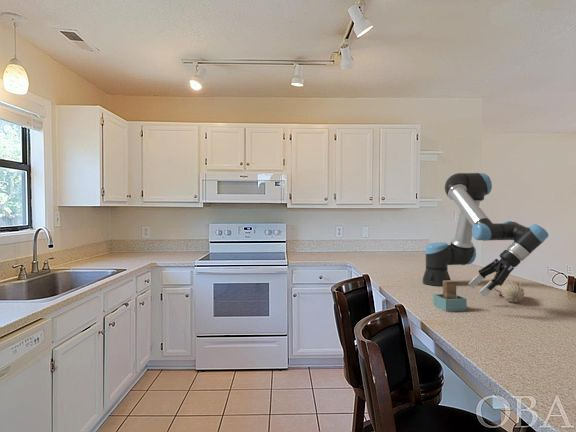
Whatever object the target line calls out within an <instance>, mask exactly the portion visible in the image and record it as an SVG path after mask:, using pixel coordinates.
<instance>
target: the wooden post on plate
mask: <svg viewBox="0 0 576 432" xmlns="http://www.w3.org/2000/svg"><path fill="white" fill-rule="evenodd" d="M442 294H443V298H444V299H456V295H457V281H456V280H451V279H450V280H447V281H443V286H442Z"/></svg>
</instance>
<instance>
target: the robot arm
mask: <svg viewBox="0 0 576 432" xmlns="http://www.w3.org/2000/svg"><path fill="white" fill-rule="evenodd" d="M492 187H493V184H492V180H491V178H490V176H489V175H488V174H487V173H482V172H458V173H454V174H452V175H450V176H449V177H448V178H447V180H446V181H445V183H444V192H445V194H446V196H447V197H448V198H449V199H450V200H452V201H453V202H454V204H455V205H456V206H457V207H458V209H459V211H460V212H459V215H458V219H457V225H456V229H455V234H454V235H455V236H454V238H452V239H451V240H450V244H448V243H447V242H441V241H440V242H431V243H429V244H427V245H426V246H425V253H424V254H425V269H424V273H423V277H422V283H423V284H424V285H427V286H433V287H434V286H435V287H443V281H447V280H451V277H450V274H449V270H448V266H458V265H459V266H466V265H470V264H473V263H474V261H475V259H476V258H477V252H476V251H477V249H476V247H475V246H474V243H473V242H472V240H473V239H474V240H477V241H483V242H485V241H512V242H511V243H510V245H509V246H508V247H506V249H504V250H503V251H502V252H501V253H500V254H499V258H500V259H498V258H495V259H494V260H493V261H491V262H490V263H489V264H487V265H486V266H484V267H482V268H481V269H479V270H478V274H477V275H476V276H475V277H474V278H473V279H472V280H471V281H469V283H468V285H469V286H470V287H471V288H472V289H475V287H477V285H479V284H480V283H481V282H483V280H484V279H486V277H487V276H489V275H491V274H494V273H495V274H494V277H493V278H492V279H490V280H489V282H488V283H486V285H485V286H483V287H482V288H481V289H480V290H479V291H478V292H479V294H481V295H482V296H483V297H486V296H487V295H488V294H489V293H491V292H492V291H493V290H495V289H494V288H495V287H496V286H498V285H500V286H501V285H502V284H503V283H504V281H505V280H506V281H507V278H508V276H509V275H510V274H511V273H512V271H514V269H515V268H516V267H518V266H519V264H521V261H522V262H523V261H525V259H526V258H527V257H528V256H530V255H531V254H532V253H533V252H534V251H535V250H536V249H537V248H538V247H539V246H541V245H542V244H543V243H544V242H545V241H546V240H547V239H548V238H549V232H547V230H546V229H545V228H544V227H542V226H540V225H538V224H536V223H533V224H531V225H530V226H527V227H526V226H525V225H522V224H521V223H518V222H516V221H512V220H507V221H504V222H503V223H501V222H500V223H493V221H491V220H490V219H489V217H488V216H487V215H486V213H485V212H484V211H483V209H482V208H481V207H480V204H481V202H483V201H484V200H485V196H487V195H489V194H490V193H491V192H492V189H493V188H492Z"/></svg>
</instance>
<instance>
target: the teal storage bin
mask: <svg viewBox="0 0 576 432" xmlns="http://www.w3.org/2000/svg"><path fill="white" fill-rule="evenodd" d="M432 297H433V298H432V299H433V300H432V301H433V302H432V304H433V305H434V306H433V307H435V306H436V308H437V307H438V308H437V309H439V308H440V310H441V309H442V310H441V311H443V310H444V312H445V311H449V312H463V311H467V303H468V302H467V300H468V299H467V298H465V297H462V296H460V295H458V294H456V299H444V298H443V293H437V294H433V295H432Z"/></svg>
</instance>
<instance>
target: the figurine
mask: <svg viewBox="0 0 576 432" xmlns="http://www.w3.org/2000/svg"><path fill="white" fill-rule="evenodd" d="M518 283H519V284H517V283H516V282H513V281H511V280H507V279H506V280H505V281H504V283H503V284H502V285H501V286H500V285H498V286H496V287H495V288H494V289H493V290H495V291H496V292H499V293H498V296H499V297H501V298H502V297H503V298H504V299H505V300H506V301H508V302H510V303H514V304H515V303H519V302H521V301H522V300H523V299H524V296H525V292H524V291H525V290H524V288H522V283H521V282H520V281H518Z"/></svg>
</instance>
